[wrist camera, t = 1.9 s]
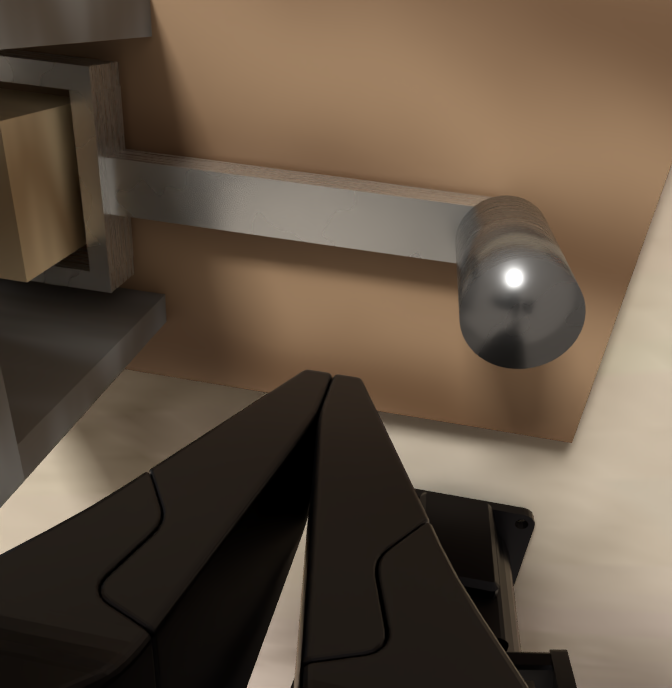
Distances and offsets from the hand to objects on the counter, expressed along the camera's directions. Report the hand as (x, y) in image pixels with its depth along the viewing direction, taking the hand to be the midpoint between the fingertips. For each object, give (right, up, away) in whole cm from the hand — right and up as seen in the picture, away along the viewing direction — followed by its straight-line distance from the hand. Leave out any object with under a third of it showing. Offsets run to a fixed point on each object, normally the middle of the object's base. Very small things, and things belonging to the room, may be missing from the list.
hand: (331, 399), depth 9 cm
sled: (-3, +5, +9) cm, 11 cm away
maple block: (-9, +6, +9) cm, 15 cm away
